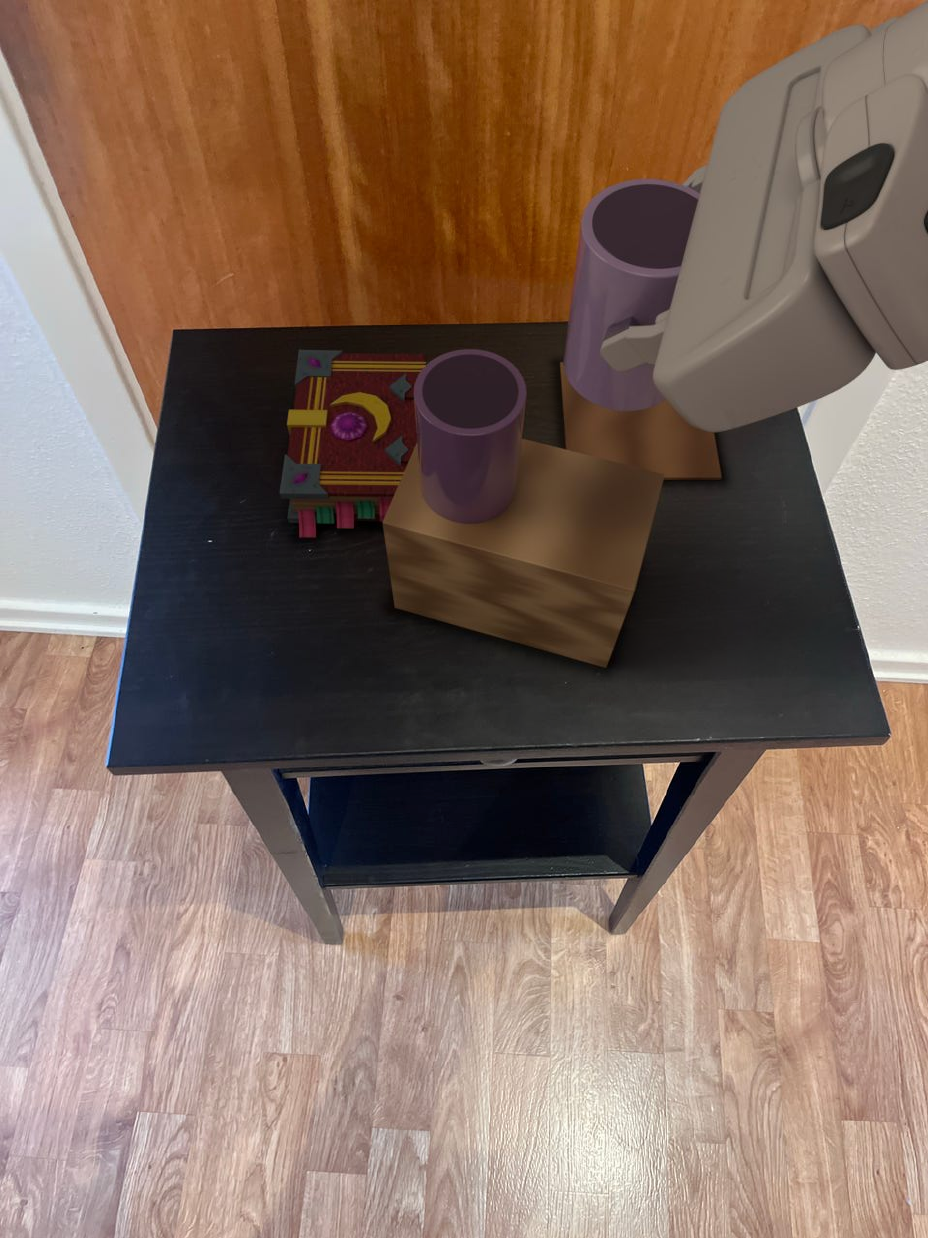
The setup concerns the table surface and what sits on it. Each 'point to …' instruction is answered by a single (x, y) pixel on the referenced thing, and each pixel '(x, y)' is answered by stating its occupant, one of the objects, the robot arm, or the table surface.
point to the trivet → (639, 437)
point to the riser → (530, 554)
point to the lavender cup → (624, 282)
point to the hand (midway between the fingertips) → (626, 295)
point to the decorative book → (348, 436)
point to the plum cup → (469, 434)
